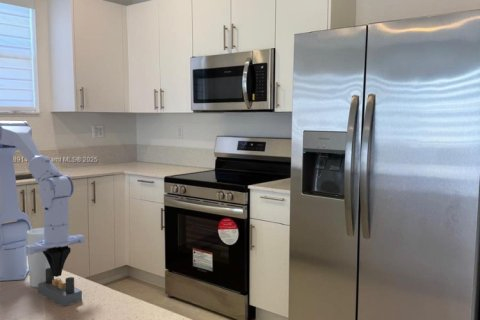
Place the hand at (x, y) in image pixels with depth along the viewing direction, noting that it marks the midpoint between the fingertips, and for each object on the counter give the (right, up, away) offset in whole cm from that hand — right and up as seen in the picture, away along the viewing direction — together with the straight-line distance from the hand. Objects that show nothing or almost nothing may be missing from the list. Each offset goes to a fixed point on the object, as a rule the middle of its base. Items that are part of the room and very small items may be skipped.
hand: (56, 275), depth 108 cm
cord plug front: (+5, -3, -4) cm, 7 cm away
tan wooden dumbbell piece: (+1, -2, -1) cm, 3 cm away
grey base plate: (+1, -5, 0) cm, 5 cm away
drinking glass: (-7, -5, +7) cm, 11 cm away
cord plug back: (-3, -2, +2) cm, 4 cm away
